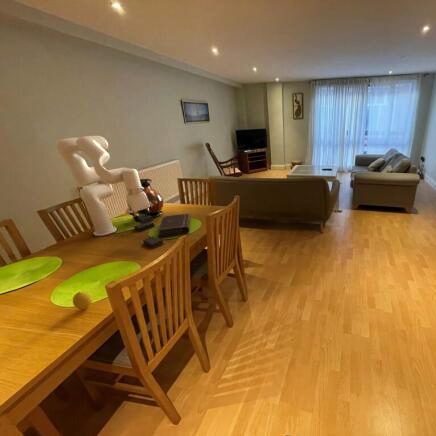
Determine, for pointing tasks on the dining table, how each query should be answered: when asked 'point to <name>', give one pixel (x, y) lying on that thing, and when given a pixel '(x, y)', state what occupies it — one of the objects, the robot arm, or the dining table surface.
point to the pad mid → (144, 218)
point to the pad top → (144, 226)
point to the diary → (174, 225)
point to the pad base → (153, 242)
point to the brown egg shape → (82, 300)
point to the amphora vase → (152, 199)
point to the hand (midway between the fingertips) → (143, 219)
